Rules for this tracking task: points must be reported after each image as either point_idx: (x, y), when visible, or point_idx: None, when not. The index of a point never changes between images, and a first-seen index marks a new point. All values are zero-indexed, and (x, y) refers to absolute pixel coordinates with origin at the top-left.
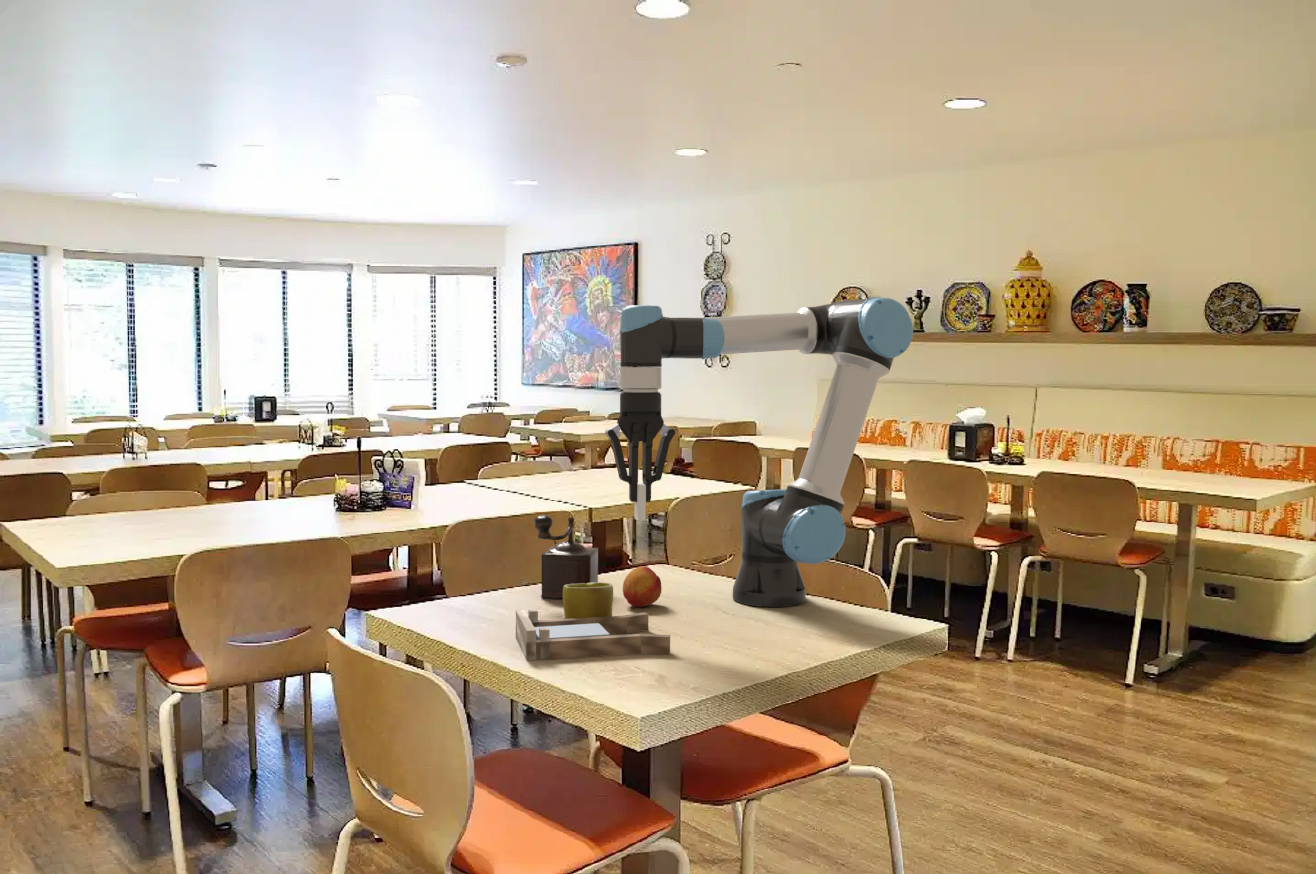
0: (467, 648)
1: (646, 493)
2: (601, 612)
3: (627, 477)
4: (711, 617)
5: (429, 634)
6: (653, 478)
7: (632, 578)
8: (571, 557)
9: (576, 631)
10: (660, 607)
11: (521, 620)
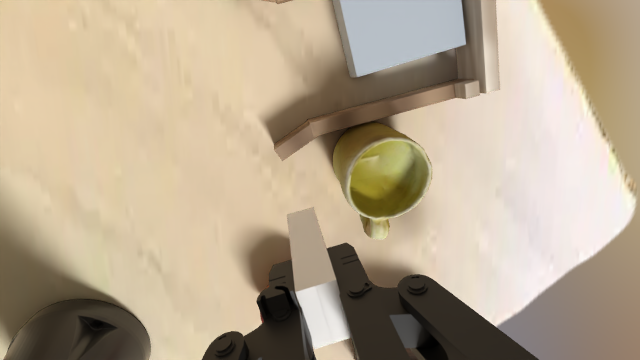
0: (539, 25)
1: (289, 280)
2: (354, 134)
3: (405, 294)
4: (175, 230)
5: (581, 106)
6: (254, 344)
7: None
8: (417, 358)
9: (394, 13)
10: (262, 282)
11: (495, 8)
